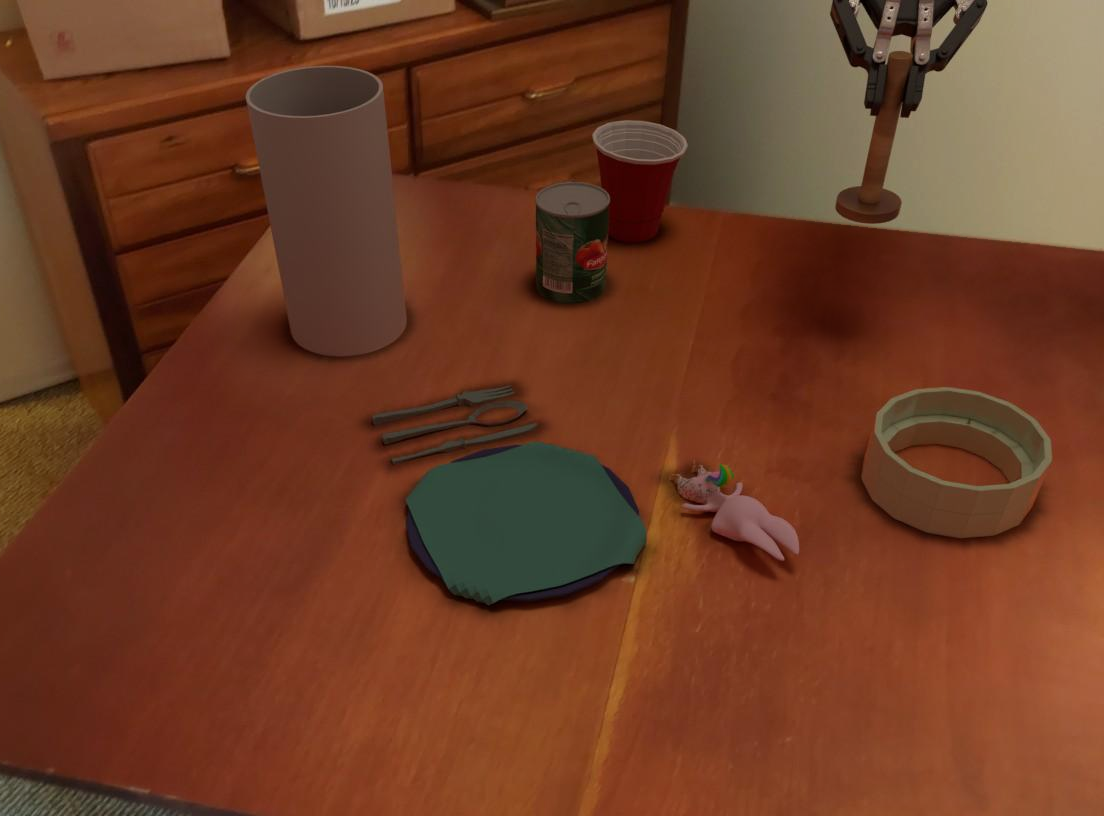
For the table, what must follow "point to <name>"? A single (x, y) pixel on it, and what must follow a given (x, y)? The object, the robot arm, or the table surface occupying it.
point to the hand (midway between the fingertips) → (891, 112)
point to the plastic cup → (637, 174)
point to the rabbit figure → (735, 511)
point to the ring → (967, 426)
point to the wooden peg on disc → (879, 153)
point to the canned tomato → (571, 242)
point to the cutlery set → (515, 512)
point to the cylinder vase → (331, 206)
